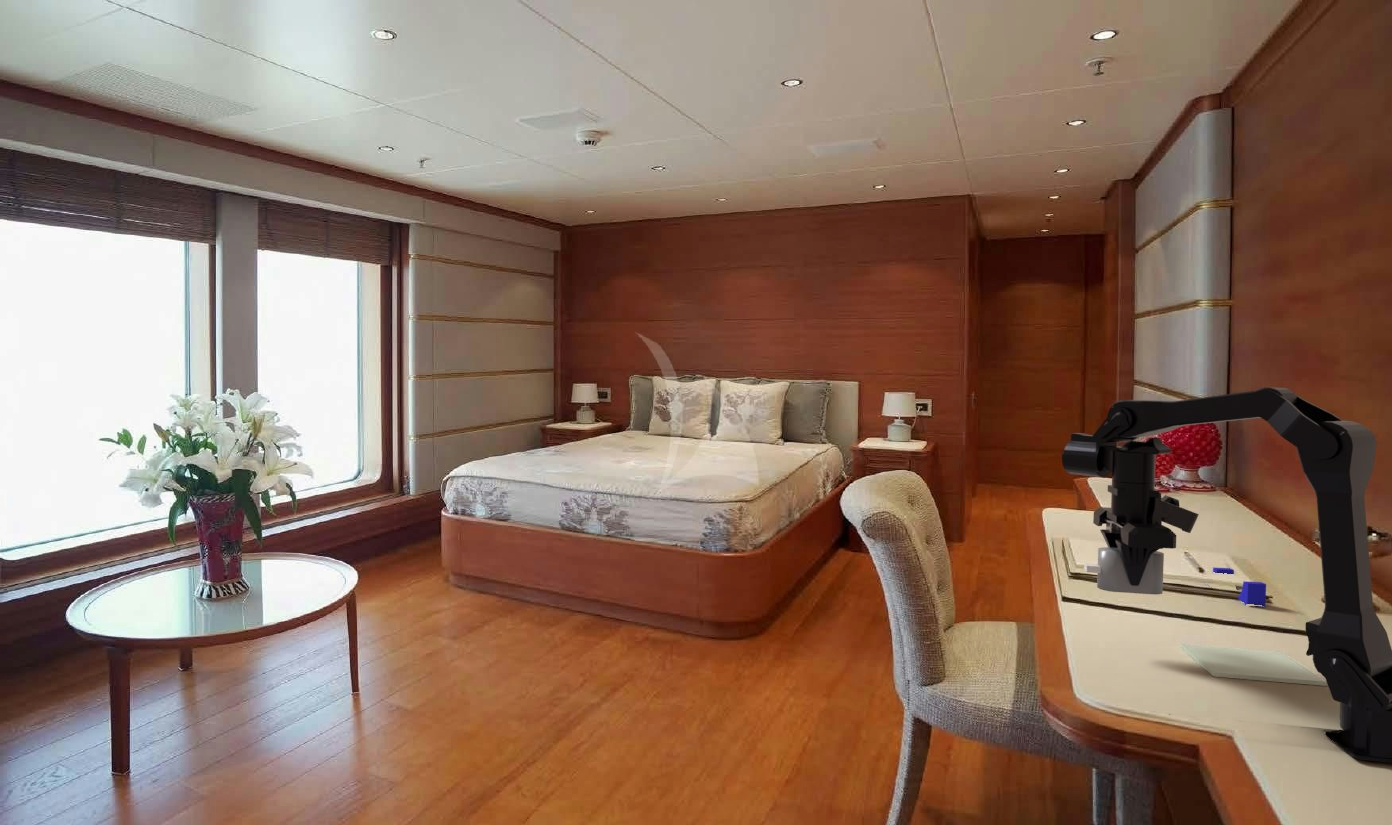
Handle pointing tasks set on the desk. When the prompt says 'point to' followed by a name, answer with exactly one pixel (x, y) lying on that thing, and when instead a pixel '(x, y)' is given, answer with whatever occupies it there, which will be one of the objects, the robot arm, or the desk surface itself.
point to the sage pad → (1251, 664)
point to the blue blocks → (1248, 589)
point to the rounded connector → (1115, 576)
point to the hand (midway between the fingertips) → (1129, 581)
